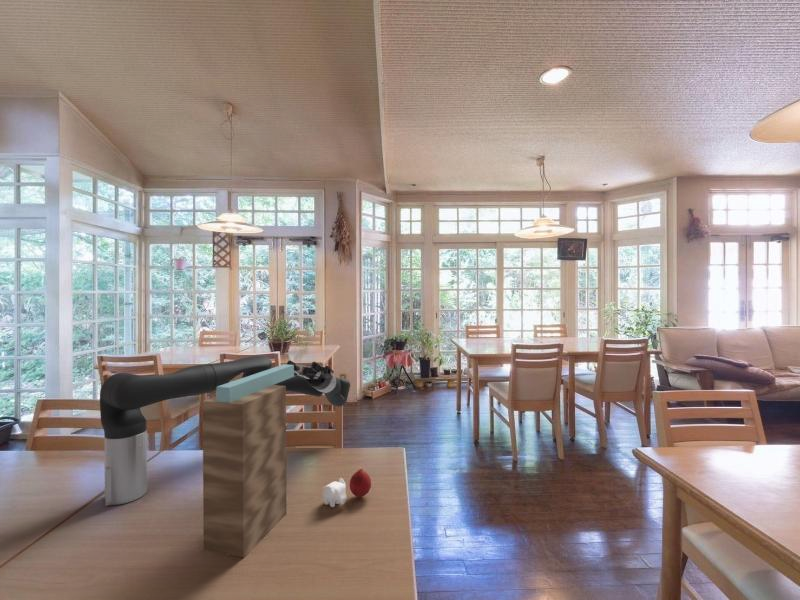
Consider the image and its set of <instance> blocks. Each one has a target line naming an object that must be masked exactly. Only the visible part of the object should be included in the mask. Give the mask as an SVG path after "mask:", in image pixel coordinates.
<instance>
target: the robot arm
mask: <svg viewBox="0 0 800 600" xmlns="http://www.w3.org/2000/svg"><path fill="white" fill-rule="evenodd" d="M286 365H294V377H291V378H289V379H286V380H284V381H282V382H279V383H277V384H274V385H279V386H286V392H291V393H300V394H304V395H309V396H313V397H318V398H319V397H322V396H323V394H324V396H325V398H326V400H327V402H329V403H330V404H331V405H332V406H335V407H343V406H344V405H345V404H347V401H348V399H349V392H350V388H351V382H350V381H349V380H348V379H346V378H345V377H344V378H343V377H336V376H335V375H334V373H335V371H334V370H333V369H332V368H331V367H330V366H329V365H325V366H324V365H322V364H319V363H318V362H316V361H312V363H311V366H308V365H304V364H296V363H295V362H293V360H288V361H287V362H286ZM271 368H273V362H272V359H270V358H269V357H267V356H264V355H253V356H248V357H243V358H239V359H233V360H229V361H224V362H217V363H216V362H214V363H205V364H204V363H203V364H196V365H191V366H187V367H185V368H182V369H179V370H177V371H175V372H172V373H165V374H156V375H155V374H154V375H139V374H135V373H130V372H117V373H114V374H113V375H112V374H111V375H110V376H109V377H108V378H106V380H104V381H103V383H102V385H101V388H100V390H99V391H100V392H99V408H100V410H99V411H100V413H99V414H100V423H101V426H102V427H101V428H102V429H103V432H104V433H103V434H104V435H103V436H104V463H103V464H104V469H103V470H104V474H103V475H104V505H105V507H107V506H113V505H114V506H115V505H123V504H127V503H131V502H132V501H136V500H138V499H140V498H142V497H143V496H145V495H146V494H147V492H148V429H147V428H148V427H147V426H148V425H147V423H148V422H147V418H146V417H145V416H144V415H143V413H142V411H141V408H143V407H147V406H150V405H153V404H156V403H161V402H164V401H167V400H174V399H179V398H180V399H181V398H186V397H193V396H199V395H204V394H208V393H214V392H217V386H220V385H223V384H226V383H229V382H232V381H233V379H235V378H236V377H237V376H239V375H241V376H242V377H241V378H244V377H247V376H250V375H253V374H256V373H259V372H262V371H265V370H268V369H271ZM341 395H342V396H341Z"/></svg>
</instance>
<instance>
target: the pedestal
mask: <svg viewBox="0 0 800 600" xmlns="http://www.w3.org/2000/svg"><path fill="white" fill-rule="evenodd" d="M202 485H203V487H202V493H203V495H202V496H203V497H202V501H203V502H202V503H203V504H202V507H203V509H202V510H203V511H202V512H203V515H202V516H203V523H202V524H203V525H202V526H203V527H202V529H203V551H207V550H208V551H207V552H213V553H217V554H221V553H223V554H222V555H226V554H229V555H228V556H231V555H232V556H231V557H236V556H238V557H237V558H240V557H243V558H242V559H245V557H246V556H247V555H248V554H249V553H250V552H251V551H252V550H253V549H254V548H255V547H256V546H257V545H258V544H259V543H260V542H261V541H262V540H263V539H264V538H265V537H266V536H267V535H268V534H269V533H270V532H271V530H272V529H274V528H275V526H276V525H277V524H278V523H279V522H280V521H281V520H282V519H283V518H284V517H285V516H286V515H287V391H286V386H279V385H272V386H269V387H267V388H265V389H262V390H260V391H257V392H255V393H252V394H250V395H248V396H245V397H243V398H240V399H238V400H235V401H233V402H231V403H225V402H217V395H216V396H212V397H210V398H207V399H204V400H202Z"/></svg>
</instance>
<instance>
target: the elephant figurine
mask: <svg viewBox="0 0 800 600" xmlns="http://www.w3.org/2000/svg"><path fill="white" fill-rule="evenodd" d="M346 489H347V483H346V482H345V480H344V479H343V478H342V477H339V478H338V481H332V482H330V483H328V484H327V485H325V486H324V485H322V490H321V496H322V500H323V502H324V505H325V506H326V505H329V507H331V508H335V506H336V505H341V506H342V505H344V504H345V503H346V500H348V498H347V497H348V495H347V492H346Z"/></svg>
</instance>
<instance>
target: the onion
mask: <svg viewBox="0 0 800 600" xmlns="http://www.w3.org/2000/svg"><path fill="white" fill-rule="evenodd" d="M371 480H372V479H371V477H370V475H369V473H368V472H366V471H364V468H363V467H358V469H357V471H355V472H354V473H353V475H352V476H351V478H350V480H349V490H350V492H351V493H352V495H354V496H355V497H357V498H359V499H362V498H363V497H365V496H366V495H367V494H368V493H369V492H370V490H371V488H372V481H371Z"/></svg>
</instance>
